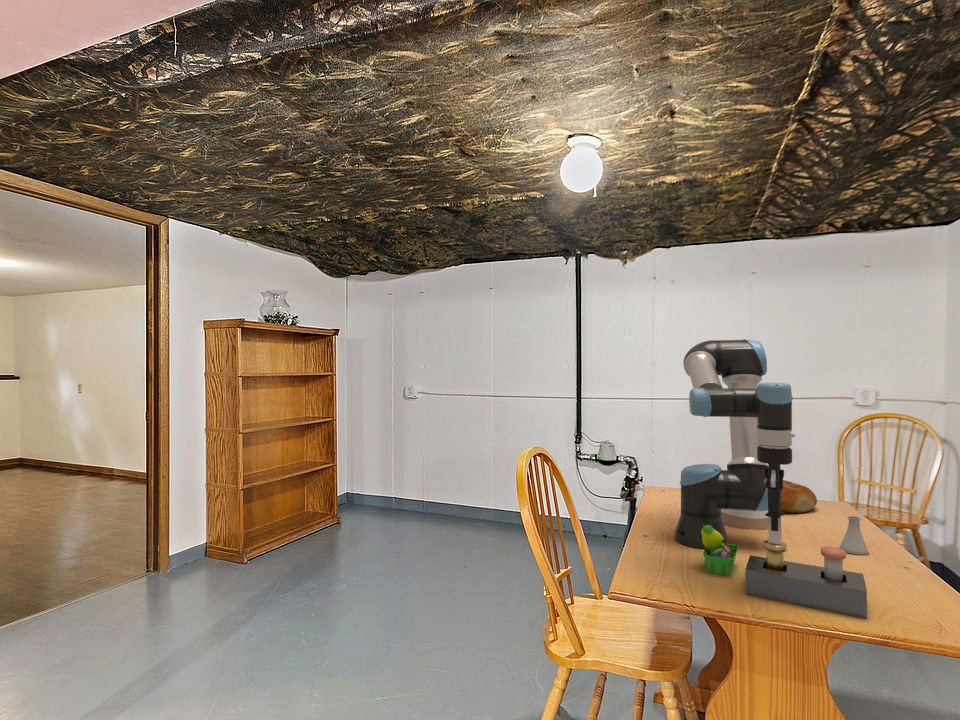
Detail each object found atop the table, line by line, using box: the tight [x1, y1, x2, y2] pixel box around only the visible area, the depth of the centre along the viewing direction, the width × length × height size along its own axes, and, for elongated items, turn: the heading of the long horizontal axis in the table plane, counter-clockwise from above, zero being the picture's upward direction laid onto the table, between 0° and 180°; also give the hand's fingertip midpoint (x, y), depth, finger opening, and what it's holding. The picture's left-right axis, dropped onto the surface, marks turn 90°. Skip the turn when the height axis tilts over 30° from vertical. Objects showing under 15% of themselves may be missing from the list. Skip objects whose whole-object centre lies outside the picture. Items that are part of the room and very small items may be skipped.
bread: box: [781, 479, 818, 514], centre depth 206 cm, size 23×23×10 cm
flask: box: [839, 515, 870, 556], centre depth 160 cm, size 7×7×10 cm
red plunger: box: [820, 545, 847, 582], centre depth 127 cm, size 5×5×8 cm
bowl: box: [721, 509, 768, 531], centre depth 188 cm, size 17×17×8 cm
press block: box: [744, 554, 868, 619], centre depth 130 cm, size 24×11×6 cm, turn 58°
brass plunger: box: [762, 539, 788, 572], centre depth 134 cm, size 5×5×8 cm
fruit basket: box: [701, 525, 740, 576], centre depth 149 cm, size 11×9×11 cm
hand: (775, 542), depth 133 cm, fingers closed
